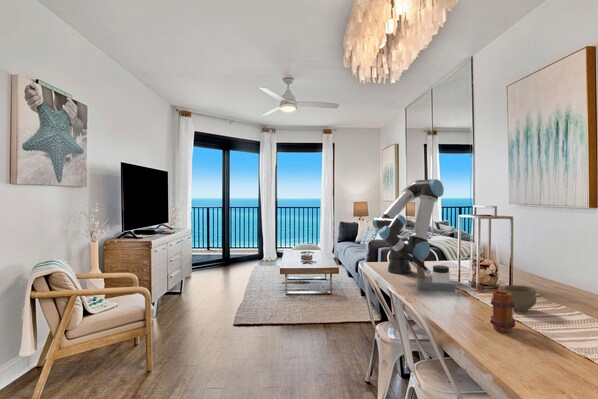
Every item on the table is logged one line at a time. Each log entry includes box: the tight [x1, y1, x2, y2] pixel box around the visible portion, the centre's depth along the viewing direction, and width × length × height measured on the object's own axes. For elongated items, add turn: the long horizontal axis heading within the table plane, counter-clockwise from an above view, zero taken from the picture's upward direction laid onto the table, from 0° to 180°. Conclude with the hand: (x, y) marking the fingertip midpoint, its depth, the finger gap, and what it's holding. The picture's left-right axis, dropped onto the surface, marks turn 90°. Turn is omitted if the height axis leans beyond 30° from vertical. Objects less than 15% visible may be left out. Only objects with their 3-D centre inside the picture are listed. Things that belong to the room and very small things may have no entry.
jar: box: [431, 264, 451, 284], centre depth 182 cm, size 9×8×12 cm
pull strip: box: [415, 259, 456, 293], centre depth 189 cm, size 26×18×12 cm
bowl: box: [504, 284, 537, 312], centre depth 147 cm, size 13×13×10 cm
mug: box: [489, 285, 516, 333], centre depth 128 cm, size 15×8×15 cm, turn 148°
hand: (424, 270), depth 202 cm, fingers open, 13 cm apart
